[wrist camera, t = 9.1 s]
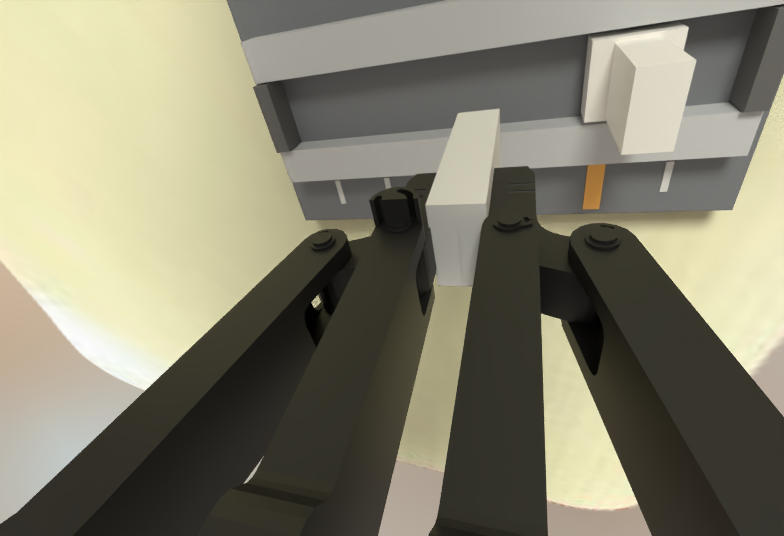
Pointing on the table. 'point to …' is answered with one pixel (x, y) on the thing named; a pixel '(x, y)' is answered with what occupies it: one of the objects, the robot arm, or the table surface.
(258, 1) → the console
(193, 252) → the table surface
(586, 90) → the fader tab
